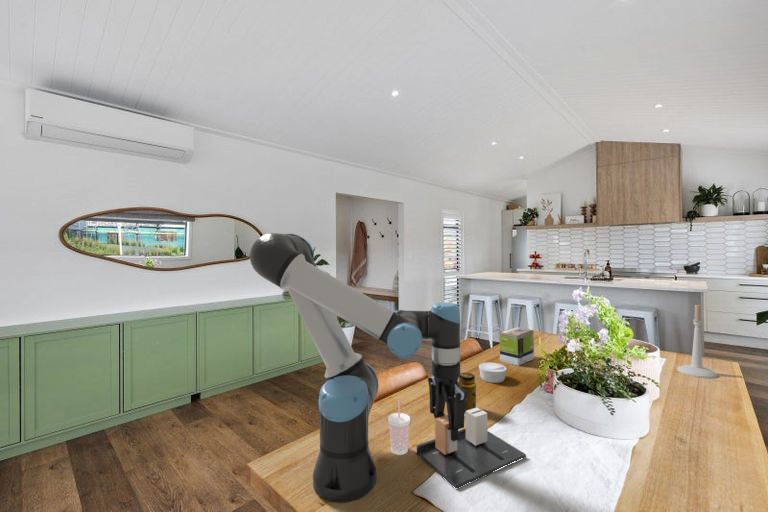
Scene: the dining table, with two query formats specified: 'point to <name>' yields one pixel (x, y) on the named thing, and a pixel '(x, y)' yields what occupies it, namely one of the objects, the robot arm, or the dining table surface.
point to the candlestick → (697, 352)
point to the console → (469, 458)
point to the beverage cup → (399, 432)
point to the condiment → (468, 390)
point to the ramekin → (492, 372)
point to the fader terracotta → (442, 434)
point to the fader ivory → (476, 426)
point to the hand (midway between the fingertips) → (446, 446)
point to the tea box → (516, 345)
